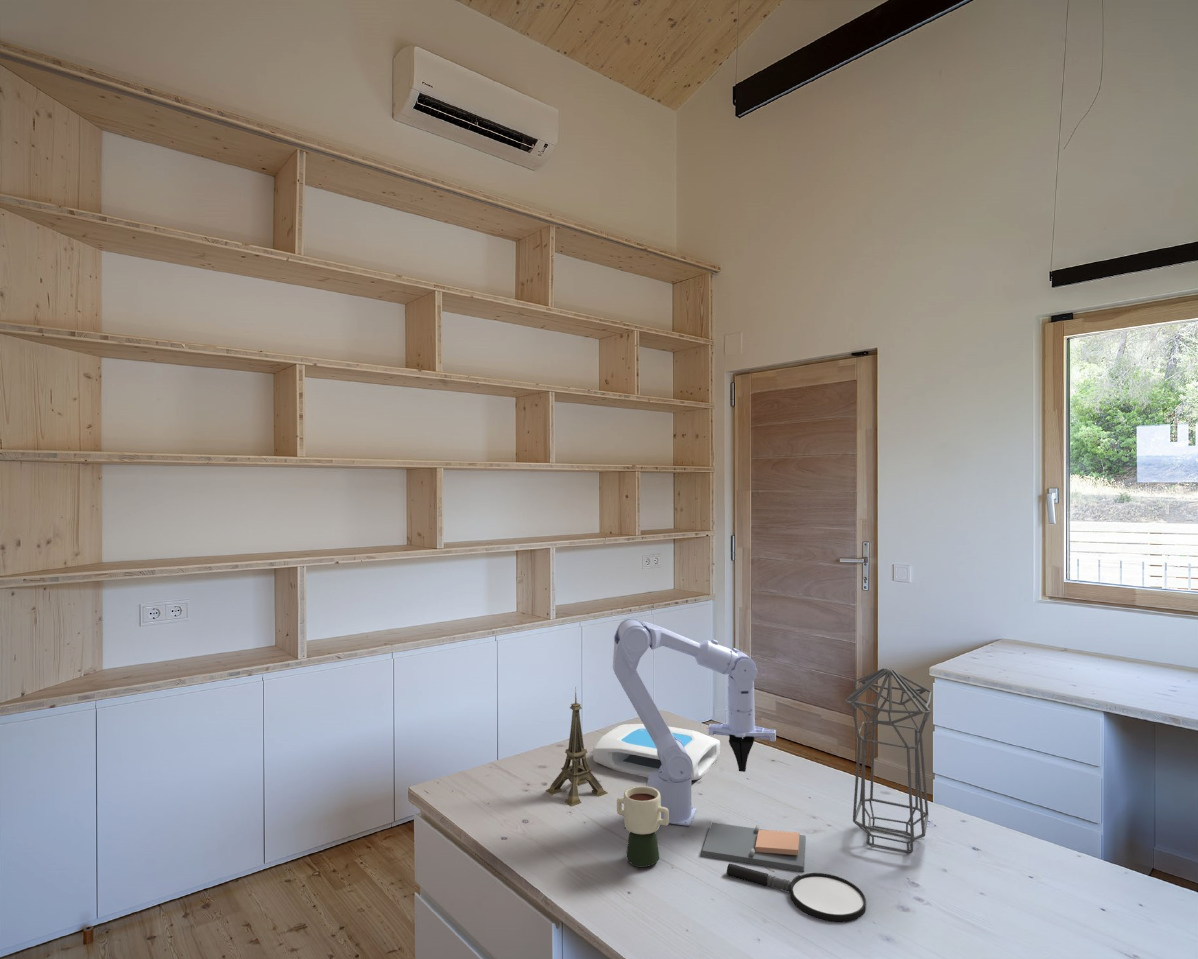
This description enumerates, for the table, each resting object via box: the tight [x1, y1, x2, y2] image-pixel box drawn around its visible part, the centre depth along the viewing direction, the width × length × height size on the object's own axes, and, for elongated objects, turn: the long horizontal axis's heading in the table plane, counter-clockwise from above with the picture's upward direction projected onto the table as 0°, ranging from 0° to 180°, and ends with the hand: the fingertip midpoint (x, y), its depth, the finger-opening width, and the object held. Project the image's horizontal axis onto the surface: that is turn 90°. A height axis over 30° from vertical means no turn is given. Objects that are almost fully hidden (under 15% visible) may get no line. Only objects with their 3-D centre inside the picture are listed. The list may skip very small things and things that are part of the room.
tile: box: [755, 829, 801, 855], centre depth 134 cm, size 8×7×1 cm
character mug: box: [616, 785, 670, 868], centre depth 131 cm, size 11×7×13 cm, turn 62°
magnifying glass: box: [726, 863, 867, 924], centre depth 120 cm, size 12×24×2 cm, turn 61°
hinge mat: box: [701, 822, 807, 873], centre depth 135 cm, size 19×12×2 cm, turn 71°
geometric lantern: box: [844, 667, 933, 854], centre depth 138 cm, size 16×16×35 cm
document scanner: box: [592, 723, 721, 781], centre depth 180 cm, size 21×28×6 cm
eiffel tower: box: [545, 686, 609, 807], centre depth 162 cm, size 11×11×25 cm
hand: (742, 769), depth 150 cm, fingers closed
